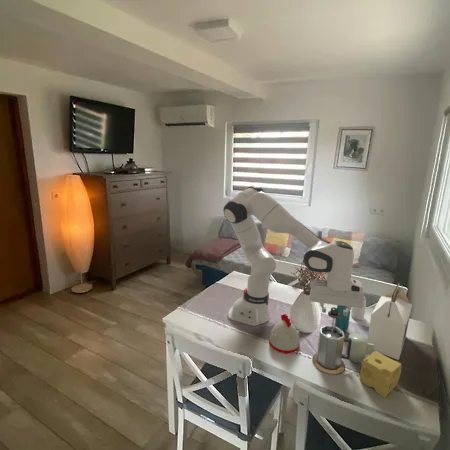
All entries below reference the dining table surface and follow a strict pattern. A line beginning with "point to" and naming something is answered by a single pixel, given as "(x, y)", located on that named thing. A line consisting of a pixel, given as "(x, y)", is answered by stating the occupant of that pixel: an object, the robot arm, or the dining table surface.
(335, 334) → the plunger
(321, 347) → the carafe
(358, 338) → the mug
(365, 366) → the cheese
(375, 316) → the gable box
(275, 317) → the dining table surface
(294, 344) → the kitchen timer
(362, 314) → the can
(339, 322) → the beverage bottle
